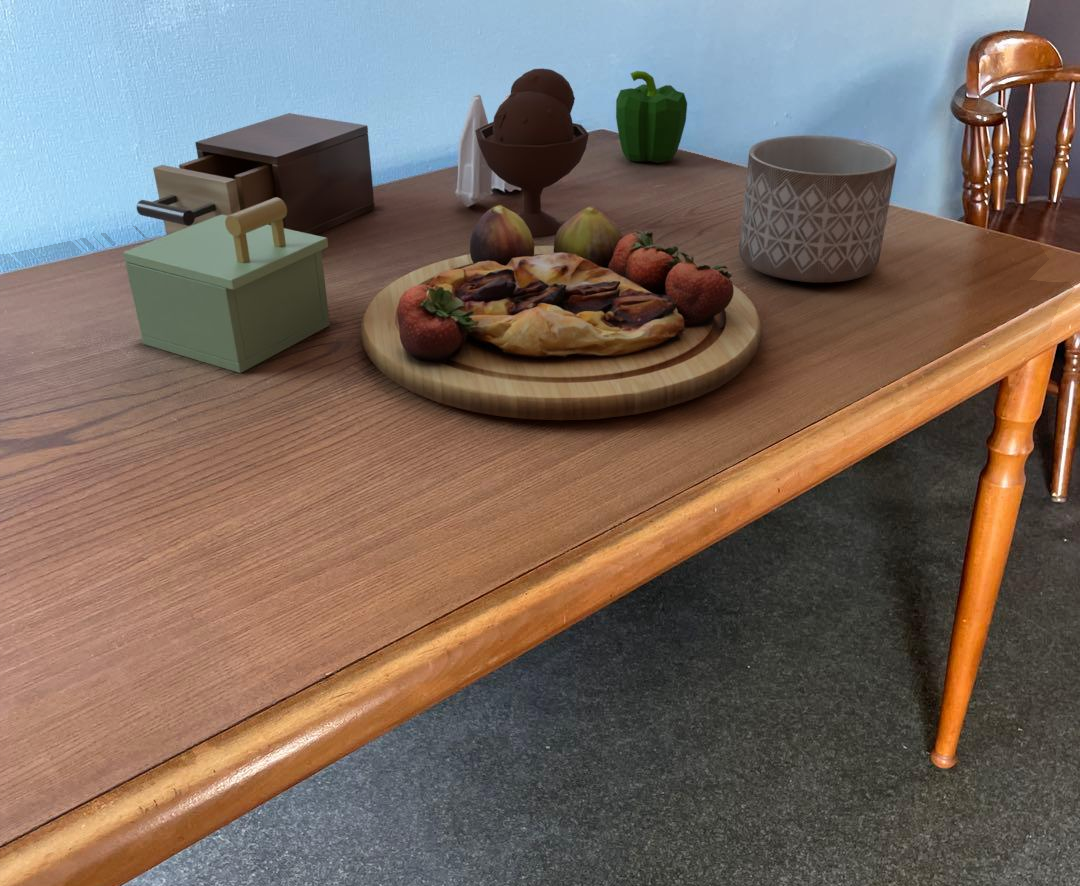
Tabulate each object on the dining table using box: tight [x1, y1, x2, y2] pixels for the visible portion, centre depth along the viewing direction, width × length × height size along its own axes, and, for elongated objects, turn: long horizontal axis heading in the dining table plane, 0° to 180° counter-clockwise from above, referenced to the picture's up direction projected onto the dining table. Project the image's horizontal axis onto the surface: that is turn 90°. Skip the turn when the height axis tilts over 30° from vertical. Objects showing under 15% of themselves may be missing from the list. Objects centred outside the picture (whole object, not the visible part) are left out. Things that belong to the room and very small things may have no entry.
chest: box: [124, 250, 331, 374], centre depth 87 cm, size 11×11×7 cm
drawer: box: [136, 153, 277, 236], centre depth 105 cm, size 17×9×7 cm, turn 149°
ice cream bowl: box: [475, 68, 590, 238], centre depth 107 cm, size 11×11×15 cm
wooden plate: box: [360, 204, 762, 421], centre depth 86 cm, size 32×32×8 cm
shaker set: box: [454, 93, 522, 208], centre depth 116 cm, size 12×4×11 cm, turn 152°
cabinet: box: [194, 112, 376, 236], centre depth 111 cm, size 14×11×9 cm
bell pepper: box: [615, 70, 688, 163], centre depth 129 cm, size 8×8×10 cm
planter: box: [738, 134, 898, 284], centre depth 98 cm, size 13×13×10 cm
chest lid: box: [122, 197, 329, 290], centre depth 84 cm, size 11×11×4 cm
